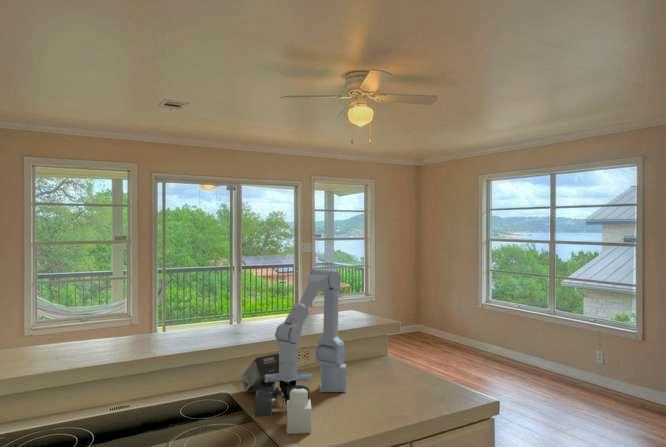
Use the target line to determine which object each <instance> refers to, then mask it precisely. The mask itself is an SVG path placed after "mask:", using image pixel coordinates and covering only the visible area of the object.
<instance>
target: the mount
mask: <svg viewBox="0 0 666 447" xmlns="http://www.w3.org/2000/svg"><path fill="white" fill-rule="evenodd" d="M276 384H277V382H265V381H261V382H260V385H259V388H258V390H256V391H257V393H256V392H255V396H254V417H255V418H256V417H260V418H261V417H272V414H273V410H274V407H275V406H272V399H275V397H274V391H276V387H277V386H276Z"/></svg>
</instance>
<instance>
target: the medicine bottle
mask: <svg viewBox="0 0 666 447" xmlns="http://www.w3.org/2000/svg"><path fill="white" fill-rule="evenodd" d="M285 412H286V414H285V416H286V418H285V419H286V422H285V423H286V428H285V429H286V432H285V433H286V434H287V435H293V434H295V435H296V434H300V435H301V434H311V433H312V402H311V398H310V389H309V387H308V386H306V385H301V384H300V385H299V384H298V385H297V384H296V386H293V387H291V388H290V389H289V400H287V405H286V411H285Z"/></svg>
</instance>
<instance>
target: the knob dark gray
mask: <svg viewBox="0 0 666 447" xmlns="http://www.w3.org/2000/svg"><path fill="white" fill-rule="evenodd" d="M256 393H257V390H256V391H255V394H256ZM277 396H283V393H282V390H281V389H280V386H279V387H277V386H276V391H274V397H275V399H277Z"/></svg>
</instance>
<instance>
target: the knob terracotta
mask: <svg viewBox="0 0 666 447" xmlns="http://www.w3.org/2000/svg"><path fill="white" fill-rule="evenodd" d="M272 406H274V407H275V406H276V409H277V410H284V407H285V398H284V395H282V396H277V399H272Z"/></svg>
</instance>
